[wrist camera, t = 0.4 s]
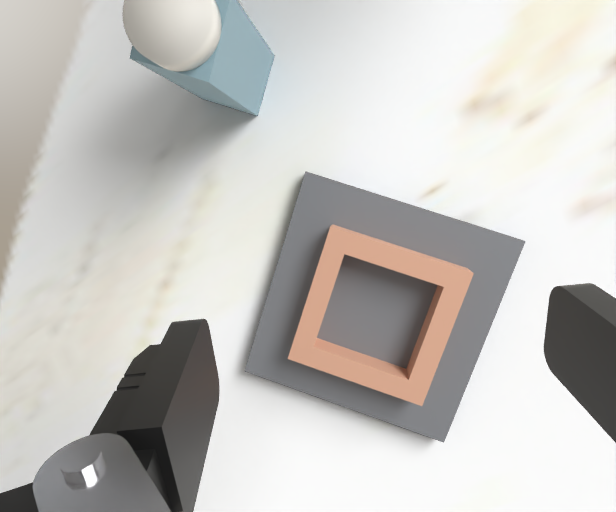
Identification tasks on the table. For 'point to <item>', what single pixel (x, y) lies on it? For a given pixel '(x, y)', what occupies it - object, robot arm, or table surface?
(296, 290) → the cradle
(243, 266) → the table surface
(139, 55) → the ball-topped blue post
